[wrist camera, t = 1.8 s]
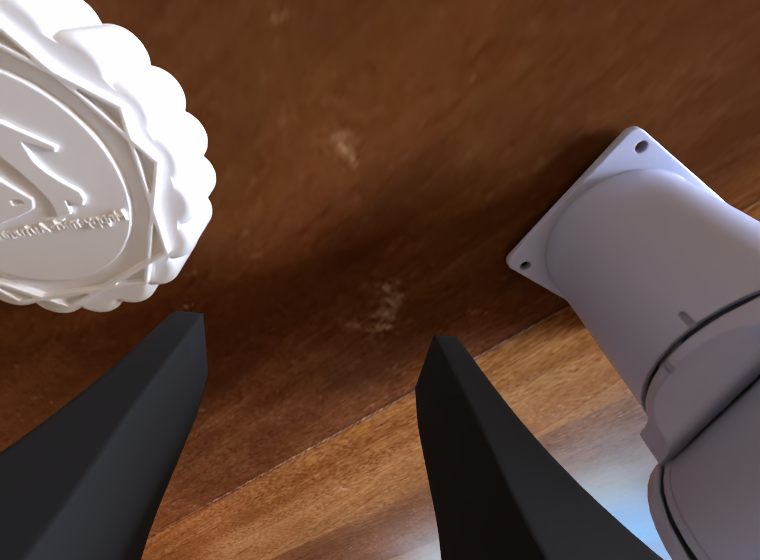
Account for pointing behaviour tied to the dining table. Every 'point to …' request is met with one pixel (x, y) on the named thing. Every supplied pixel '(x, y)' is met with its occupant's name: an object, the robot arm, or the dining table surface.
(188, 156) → the mooncake
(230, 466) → the dining table surface
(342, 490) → the dining table surface
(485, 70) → the dining table surface
